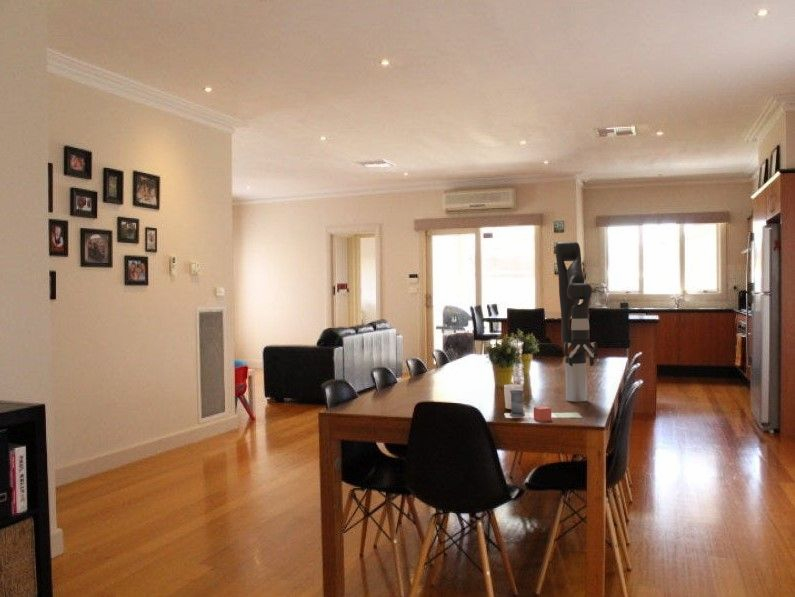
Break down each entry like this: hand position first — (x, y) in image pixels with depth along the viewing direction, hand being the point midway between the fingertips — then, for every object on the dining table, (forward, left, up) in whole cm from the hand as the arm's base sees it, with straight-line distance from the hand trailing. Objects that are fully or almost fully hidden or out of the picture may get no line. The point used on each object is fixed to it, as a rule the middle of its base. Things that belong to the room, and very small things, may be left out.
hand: (581, 366), depth 296 cm
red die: (+34, -21, -17) cm, 43 cm away
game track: (+25, -20, -17) cm, 36 cm away
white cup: (+7, -30, -17) cm, 35 cm away
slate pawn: (+25, -30, -17) cm, 42 cm away
